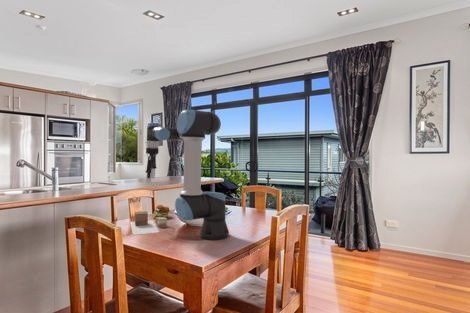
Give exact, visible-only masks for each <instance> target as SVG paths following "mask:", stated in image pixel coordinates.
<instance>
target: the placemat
mask: <svg viewBox="0 0 470 313" xmlns="http://www.w3.org/2000/svg"><path fill="white" fill-rule="evenodd" d="M129 223H130V227H131V233H132V236H135V235H136V236H137V235H146V234H149V235H150V234H156V233H157V234H158V233H160V230H159V228H158V227H157V226H155V223H156V222H155V221H154V219H151V220H149V219H148V225H140V226H135V221H130V222H129Z"/></svg>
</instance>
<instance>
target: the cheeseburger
mask: <svg viewBox="0 0 470 313" xmlns="http://www.w3.org/2000/svg"><path fill="white" fill-rule="evenodd" d="M155 209H156V210H154V211H153V214H152V220H154V219H155V220H156V217H165V218H167V217H168V216H169V213H170V212H171V210H170V207H168V206H163V205H162V204H158V205H157V206H156V207H155ZM167 219H168V218H167Z"/></svg>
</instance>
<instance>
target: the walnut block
mask: <svg viewBox="0 0 470 313" xmlns="http://www.w3.org/2000/svg"><path fill="white" fill-rule="evenodd" d="M148 217H149V216H148V211H145V210H144V211H134V222H135V226H140V225H148V221H149V218H148Z"/></svg>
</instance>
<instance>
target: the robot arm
mask: <svg viewBox="0 0 470 313" xmlns="http://www.w3.org/2000/svg"><path fill="white" fill-rule="evenodd" d="M221 125H222V123H221V119H220V117H219V115H217V114H216V113H215V112H212V111H205V110H204V111H203V110H198V109H197V110H196V109H184V110H182V111H181V112H180V114H179V115H178V116H177V120H176V127H168V126H167V127H166V126H165V127H164V126H161V124H160V123H159V122H150V121H149V122H148V123H147V126H146V141H145V146H146V147H145V154H147V163H146V170H145V173H146V182H145V184H152V179H153V180H154V179H156V178H155V177H156V170H157V160H156V158H157V156H156V155H158V154H159V151H160V150H159V147H160V141H183V142H184V144H183V146H184V147H183V181H182V182H183V183H182V185H183V186H182V188H183V189H182V190H181V191H180V192H179V196H178V197H177V198H176V199H175V201H174V202H175V203H174V208H175V212H176V214H177V217H178V218H179V219H180V220H182V221H193V220H194V221H195V220H198V219H199V220H200V219H202V220H203V222H202V224H201V228H200V231H199V237H200V238H201V239H204V240H210V241H211V240H212V241H213V240H216V241H217V240H224V239H227V238H228V237H230V236H229V235H230V234H229V232H230V231H229V228H228V224H227V222H226V203H227V201H226V194H224V193H222V192H216V191H203V190H202V187H201V186H202V154H203V150H202V148H203V145H202V143H203V141H204V140H205V139H206V136H210V135H214V134H216V133H218V132H219V131H220V129H221Z"/></svg>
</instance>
